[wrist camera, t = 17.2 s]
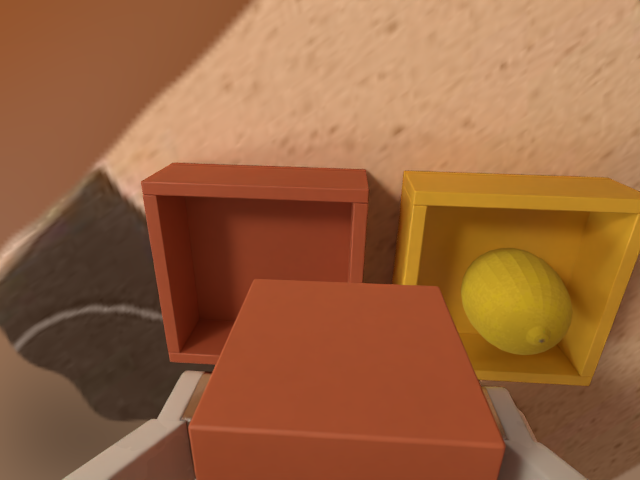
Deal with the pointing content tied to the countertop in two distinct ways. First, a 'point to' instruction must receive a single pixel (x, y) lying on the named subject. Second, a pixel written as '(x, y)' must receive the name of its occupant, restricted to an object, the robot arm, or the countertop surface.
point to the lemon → (516, 301)
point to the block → (344, 389)
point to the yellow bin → (530, 235)
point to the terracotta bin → (246, 240)
